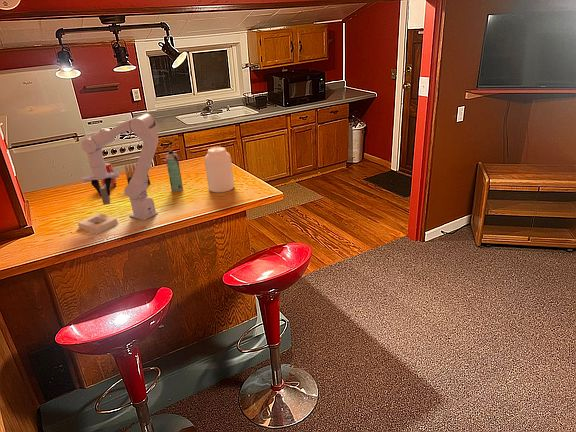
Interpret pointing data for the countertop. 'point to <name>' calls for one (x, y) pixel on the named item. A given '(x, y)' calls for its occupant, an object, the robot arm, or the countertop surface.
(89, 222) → the socket block
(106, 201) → the key peg
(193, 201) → the countertop surface
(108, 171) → the soda can
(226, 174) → the white plastic jar
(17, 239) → the countertop surface
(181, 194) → the countertop surface
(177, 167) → the spray can
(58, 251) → the countertop surface
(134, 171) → the ammunition clip
